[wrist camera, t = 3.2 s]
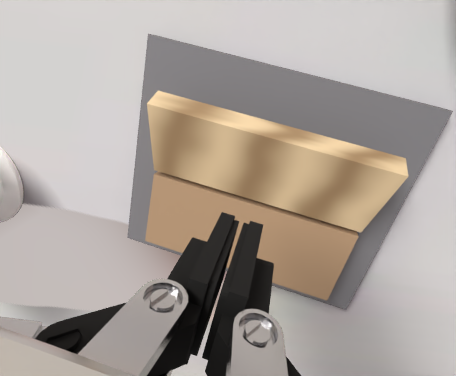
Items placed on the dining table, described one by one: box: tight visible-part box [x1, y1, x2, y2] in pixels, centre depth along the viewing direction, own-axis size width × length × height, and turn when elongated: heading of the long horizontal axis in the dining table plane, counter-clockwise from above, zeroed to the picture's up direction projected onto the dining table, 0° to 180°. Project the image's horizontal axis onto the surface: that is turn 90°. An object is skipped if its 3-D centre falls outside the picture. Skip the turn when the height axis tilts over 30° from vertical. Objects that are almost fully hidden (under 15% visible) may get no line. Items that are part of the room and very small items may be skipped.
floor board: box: [128, 34, 453, 310], centre depth 29 cm, size 26×22×3 cm
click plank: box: [147, 91, 408, 232], centre depth 26 cm, size 20×8×2 cm, turn 77°
